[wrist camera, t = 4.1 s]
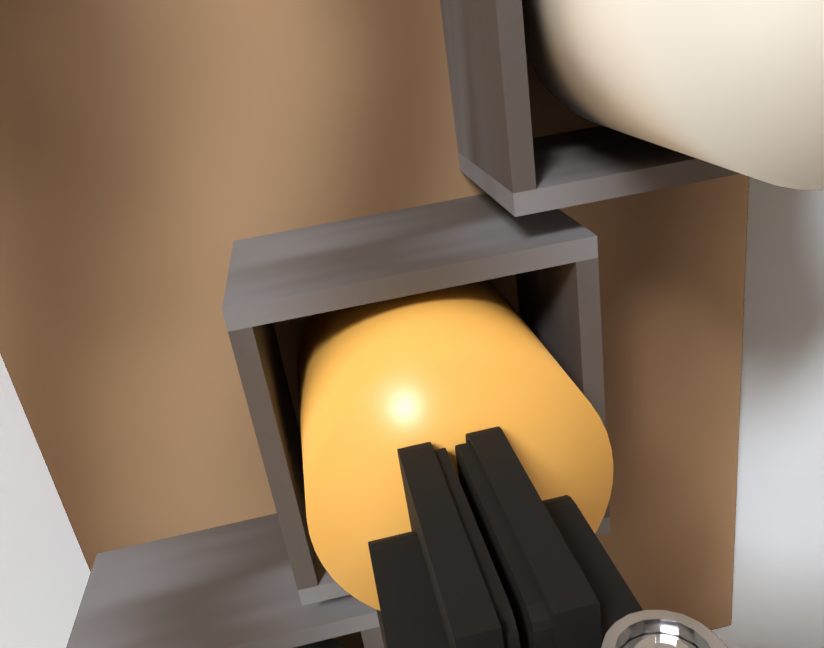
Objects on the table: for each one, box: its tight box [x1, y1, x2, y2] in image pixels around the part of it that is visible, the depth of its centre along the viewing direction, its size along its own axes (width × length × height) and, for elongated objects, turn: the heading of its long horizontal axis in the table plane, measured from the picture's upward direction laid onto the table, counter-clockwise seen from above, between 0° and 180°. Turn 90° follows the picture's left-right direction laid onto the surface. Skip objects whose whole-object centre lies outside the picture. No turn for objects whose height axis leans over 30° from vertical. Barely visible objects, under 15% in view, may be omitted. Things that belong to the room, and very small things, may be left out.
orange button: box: [297, 280, 613, 610], centre depth 14 cm, size 5×5×5 cm
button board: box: [0, 0, 749, 648], centre depth 16 cm, size 17×23×5 cm
